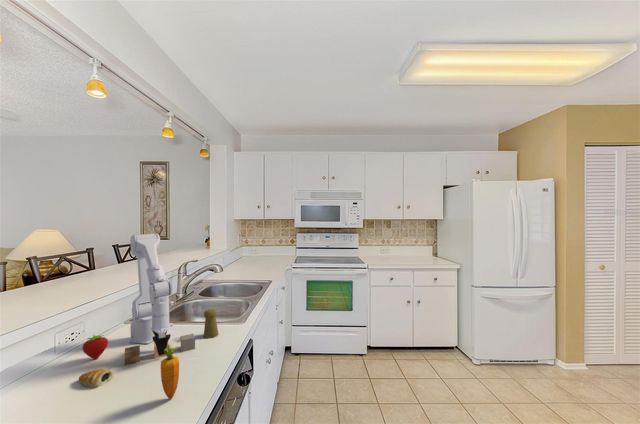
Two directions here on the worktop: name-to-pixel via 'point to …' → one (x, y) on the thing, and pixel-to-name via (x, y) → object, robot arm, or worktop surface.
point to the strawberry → (95, 346)
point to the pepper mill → (210, 324)
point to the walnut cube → (132, 355)
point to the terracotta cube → (157, 351)
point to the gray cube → (187, 342)
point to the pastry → (96, 378)
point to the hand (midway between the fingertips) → (161, 350)
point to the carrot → (170, 372)
